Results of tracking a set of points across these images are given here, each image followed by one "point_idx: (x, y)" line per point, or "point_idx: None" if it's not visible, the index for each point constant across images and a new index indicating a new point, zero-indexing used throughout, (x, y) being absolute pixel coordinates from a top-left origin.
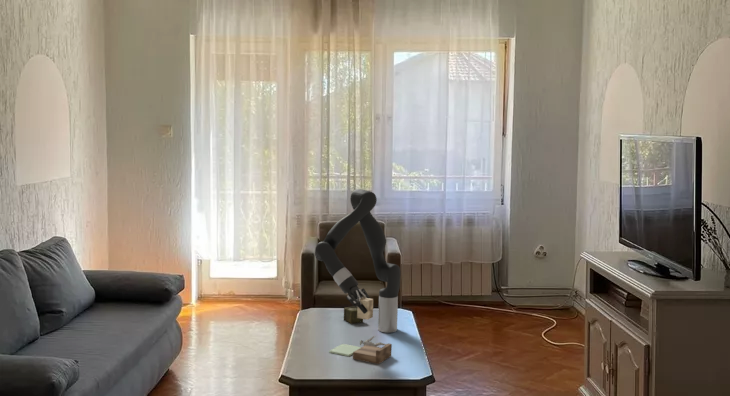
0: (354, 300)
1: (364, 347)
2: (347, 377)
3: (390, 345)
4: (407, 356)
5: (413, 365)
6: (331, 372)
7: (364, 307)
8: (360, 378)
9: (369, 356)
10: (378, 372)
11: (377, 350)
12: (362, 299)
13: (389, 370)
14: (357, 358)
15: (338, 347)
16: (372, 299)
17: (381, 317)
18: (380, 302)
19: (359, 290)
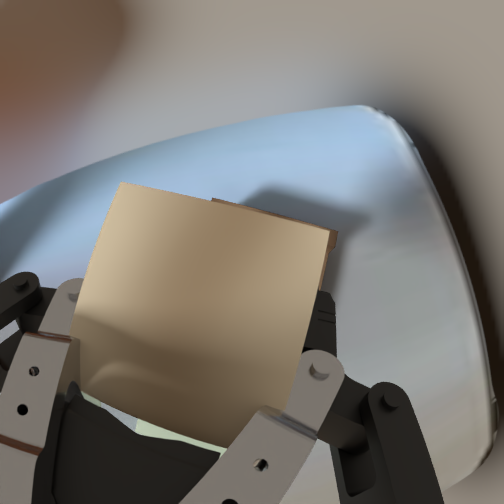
0: (425, 466)
1: None
2: (467, 317)
3: (224, 201)
4: (205, 165)
5: (295, 137)
6: (445, 381)
7: (317, 308)
8: (462, 276)
9: (320, 284)
10: (403, 233)
11: (328, 240)
12: (208, 376)
13: (372, 201)
14: None
15: (187, 442)
16: (147, 187)
17: None
18: None
19: (14, 499)
